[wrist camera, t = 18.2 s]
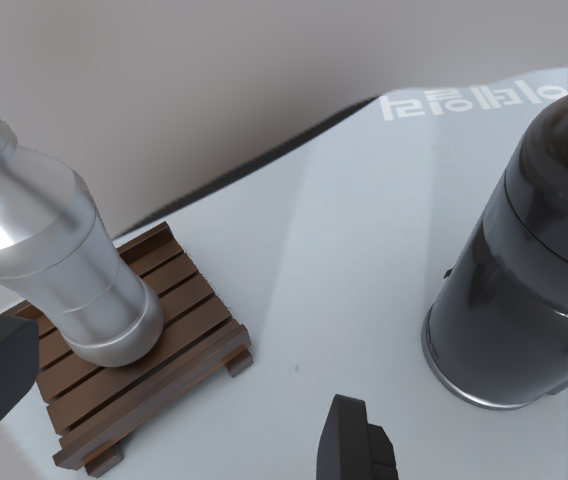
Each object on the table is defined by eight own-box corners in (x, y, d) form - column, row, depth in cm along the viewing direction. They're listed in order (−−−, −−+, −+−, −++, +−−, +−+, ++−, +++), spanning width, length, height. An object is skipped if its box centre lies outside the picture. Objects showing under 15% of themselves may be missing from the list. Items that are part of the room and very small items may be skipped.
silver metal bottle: (100, 293, 34) (-95, 68, 18) (181, 298, 33) (55, 69, 17) (69, 372, 30) (-215, 179, 14) (159, 379, 29) (-29, 187, 13)
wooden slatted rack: (175, 244, 39) (161, 216, 36) (259, 358, 33) (253, 337, 29) (28, 330, 35) (-3, 308, 32) (90, 483, 28) (59, 476, 25)
